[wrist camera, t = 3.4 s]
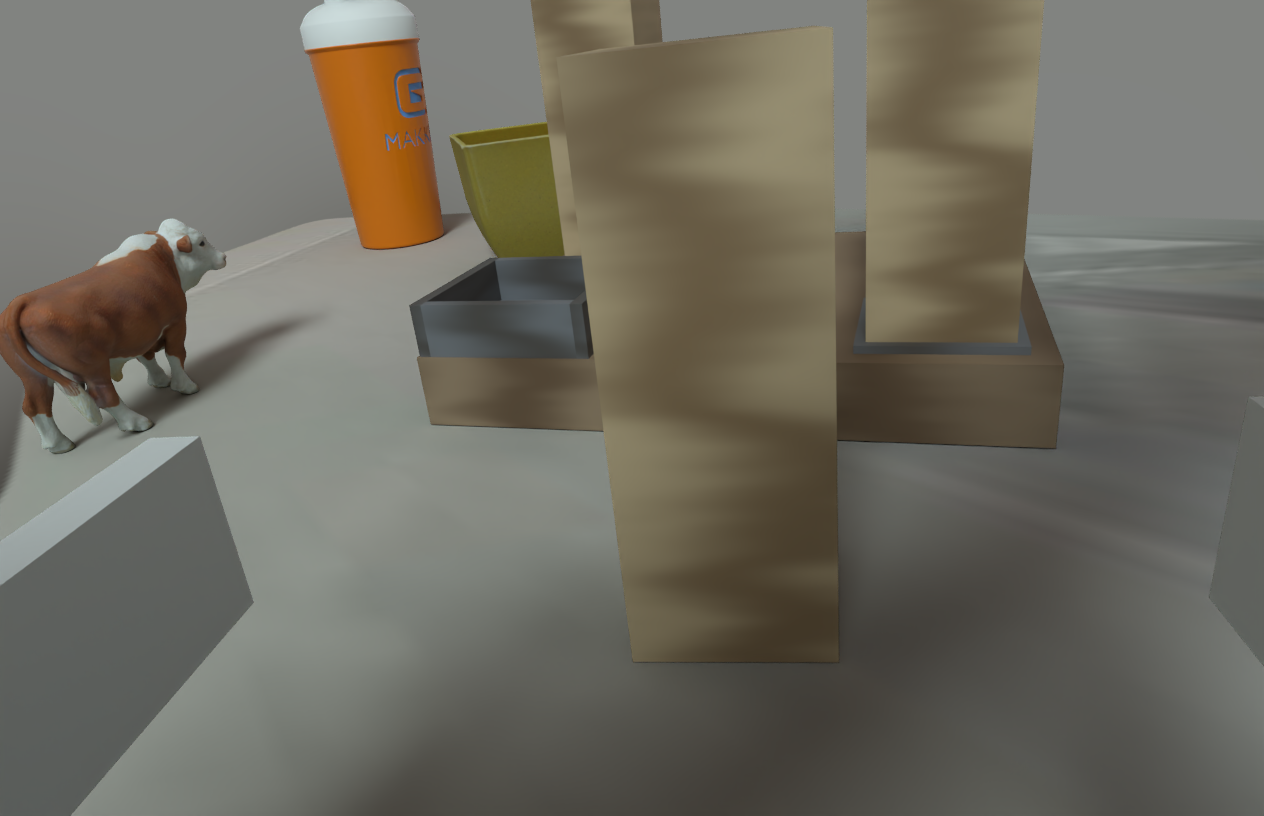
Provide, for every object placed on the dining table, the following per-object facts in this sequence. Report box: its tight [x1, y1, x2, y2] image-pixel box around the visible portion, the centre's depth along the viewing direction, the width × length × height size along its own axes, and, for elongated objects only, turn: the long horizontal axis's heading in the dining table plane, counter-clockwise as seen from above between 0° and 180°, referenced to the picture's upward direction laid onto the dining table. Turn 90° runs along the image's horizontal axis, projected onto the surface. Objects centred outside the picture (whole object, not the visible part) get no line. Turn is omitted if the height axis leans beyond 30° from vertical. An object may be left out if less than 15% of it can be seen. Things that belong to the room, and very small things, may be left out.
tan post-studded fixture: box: [409, 0, 1064, 448], centre depth 38 cm, size 24×20×17 cm
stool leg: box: [556, 26, 839, 663], centre depth 21 cm, size 5×5×14 cm
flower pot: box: [449, 122, 565, 258], centre depth 61 cm, size 9×9×9 cm
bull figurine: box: [0, 219, 226, 453], centre depth 41 cm, size 4×13×8 cm, turn 170°
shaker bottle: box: [300, 0, 444, 249], centre depth 71 cm, size 9×9×20 cm
